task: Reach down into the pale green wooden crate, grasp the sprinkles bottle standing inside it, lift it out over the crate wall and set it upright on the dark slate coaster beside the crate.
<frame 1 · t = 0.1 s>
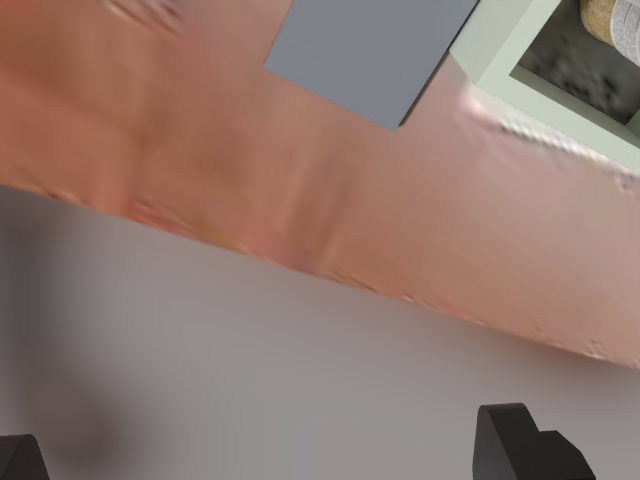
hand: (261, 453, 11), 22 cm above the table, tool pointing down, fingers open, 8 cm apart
coaster: (367, 30, 29), on the table
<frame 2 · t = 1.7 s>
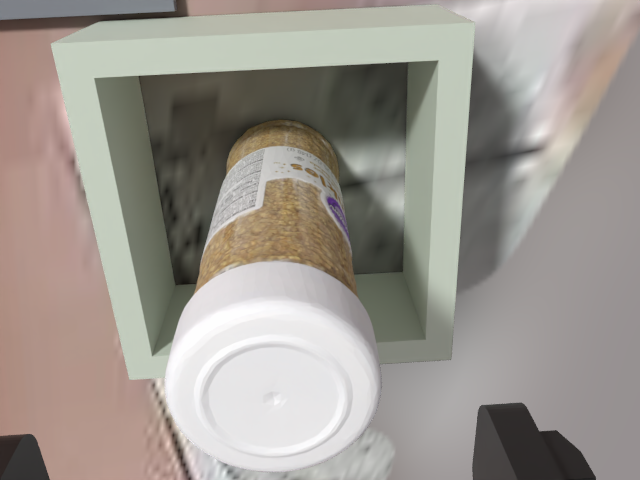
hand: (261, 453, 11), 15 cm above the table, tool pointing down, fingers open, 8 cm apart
crate: (281, 171, 24), on the table
sprinkles bottle: (281, 169, 24), resting in crate
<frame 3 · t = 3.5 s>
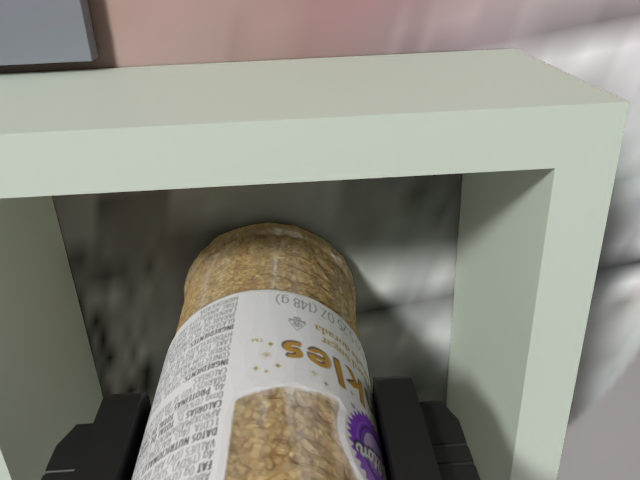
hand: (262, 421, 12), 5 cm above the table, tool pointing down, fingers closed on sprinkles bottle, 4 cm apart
crate: (268, 292, 16), on the table
sprinkles bottle: (269, 288, 16), resting in crate, touching gripper
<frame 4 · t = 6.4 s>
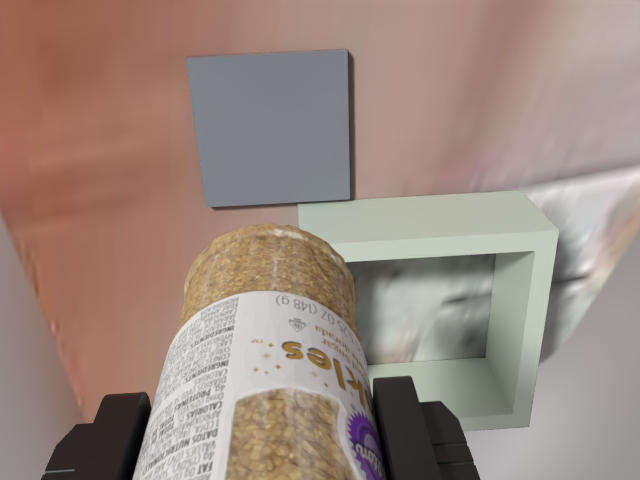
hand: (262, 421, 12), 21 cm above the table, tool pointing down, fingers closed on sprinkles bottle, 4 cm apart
crate: (406, 292, 35), on the table
coaster: (273, 130, 30), on the table
sprinkles bottle: (269, 289, 16), point 15 cm above the table, touching gripper
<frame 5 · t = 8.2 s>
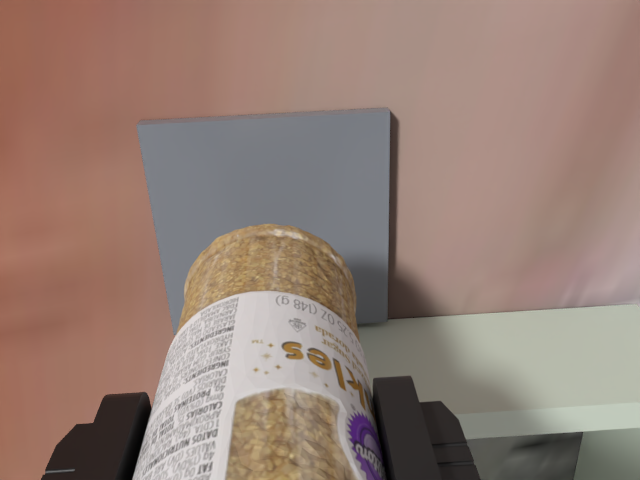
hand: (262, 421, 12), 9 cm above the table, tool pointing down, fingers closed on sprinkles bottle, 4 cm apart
crate: (463, 437, 25), on the table
coaster: (273, 225, 20), on the table
sprinkles bottle: (269, 289, 16), point 4 cm above the table, touching gripper
when the fingers open (7 cm above the table, at t = 9.6 s): sprinkles bottle drops 1 cm, resting on coaster.
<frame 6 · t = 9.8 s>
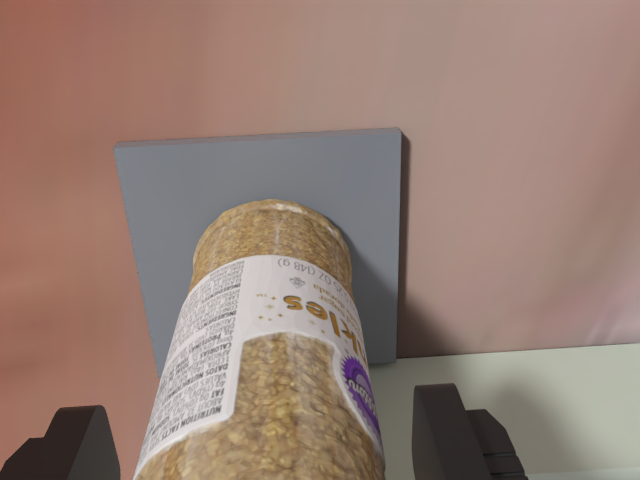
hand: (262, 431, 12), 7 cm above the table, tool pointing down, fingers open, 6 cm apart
coaster: (269, 258, 18), on the table
sprinkles bottle: (271, 262, 18), resting on coaster
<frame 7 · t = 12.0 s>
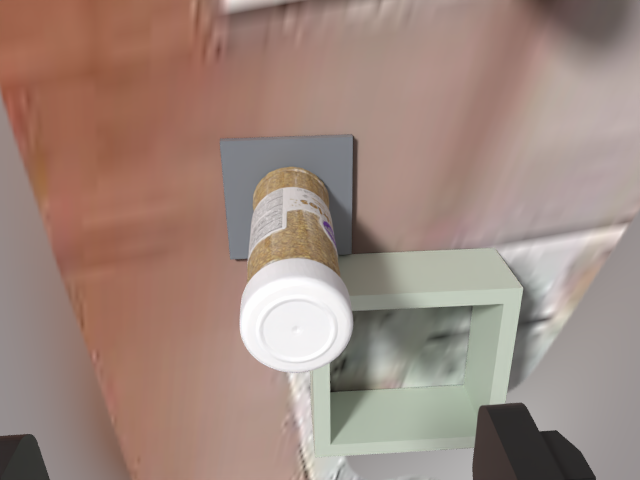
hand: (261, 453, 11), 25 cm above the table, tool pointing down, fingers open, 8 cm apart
crate: (397, 330, 41), on the table
coaster: (288, 197, 36), on the table
sprinkles bottle: (289, 198, 36), resting on coaster
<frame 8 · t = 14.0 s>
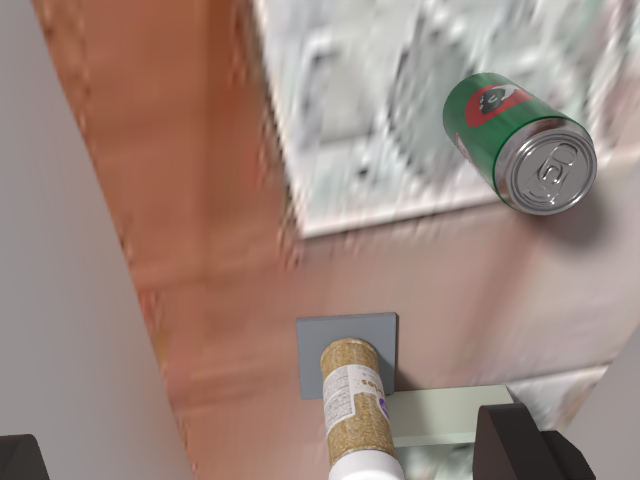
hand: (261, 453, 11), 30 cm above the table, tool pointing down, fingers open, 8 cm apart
crate: (429, 443, 52), on the table
coaster: (346, 355, 47), on the table
sprinkles bottle: (347, 357, 47), resting on coaster
soda can: (478, 109, 39), on the table
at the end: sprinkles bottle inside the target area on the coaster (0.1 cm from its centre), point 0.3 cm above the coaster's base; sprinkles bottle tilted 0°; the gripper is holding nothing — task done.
